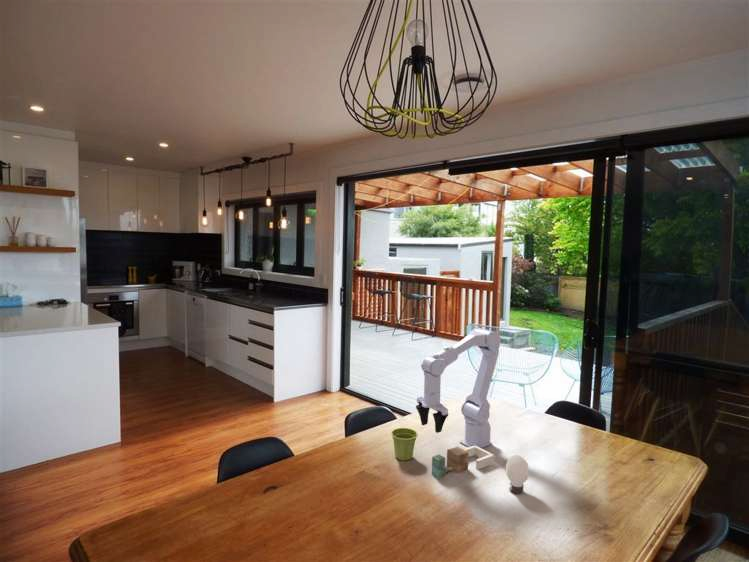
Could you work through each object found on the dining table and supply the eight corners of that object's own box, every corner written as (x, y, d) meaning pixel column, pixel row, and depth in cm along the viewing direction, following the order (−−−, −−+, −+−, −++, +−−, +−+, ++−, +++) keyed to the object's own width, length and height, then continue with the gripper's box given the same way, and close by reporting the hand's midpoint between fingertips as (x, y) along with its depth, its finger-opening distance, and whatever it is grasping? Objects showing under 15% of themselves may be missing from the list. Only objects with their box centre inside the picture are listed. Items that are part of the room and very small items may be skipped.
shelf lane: (474, 453, 160) (475, 445, 160) (494, 463, 152) (494, 455, 152) (459, 458, 156) (459, 450, 155) (478, 469, 148) (478, 460, 148)
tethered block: (457, 463, 152) (457, 446, 152) (467, 469, 148) (468, 452, 148) (429, 472, 145) (430, 455, 145) (440, 479, 141) (440, 461, 141)
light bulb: (512, 497, 131) (513, 462, 131) (501, 485, 138) (502, 452, 137) (532, 495, 133) (533, 460, 132) (520, 483, 139) (521, 450, 139)
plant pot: (417, 451, 161) (417, 428, 160) (417, 464, 151) (417, 439, 151) (391, 450, 162) (392, 427, 161) (390, 462, 152) (390, 438, 152)
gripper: (410, 387, 160) (410, 423, 161) (437, 399, 148) (436, 438, 149) (425, 384, 164) (424, 419, 165) (452, 395, 152) (451, 433, 153)
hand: (431, 428), depth 157 cm, fingers open, 7 cm apart
